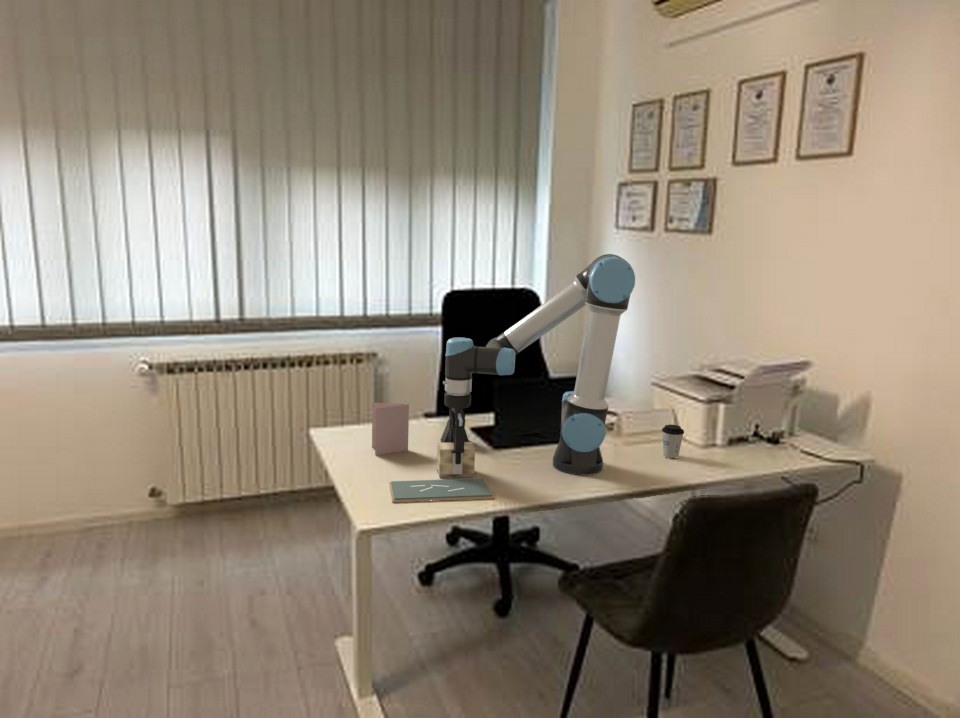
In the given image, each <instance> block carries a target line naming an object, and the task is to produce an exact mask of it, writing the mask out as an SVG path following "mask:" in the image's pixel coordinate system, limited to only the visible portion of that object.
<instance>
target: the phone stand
mask: <svg viewBox="0 0 960 718" xmlns="http://www.w3.org/2000/svg"><path fill="white" fill-rule="evenodd" d="M449 419H450V416H449V418H448V419H447V422H446V425H445V427H444V431H443V432H442V434H441V438H440V443H450V442H449V440H450V439H449V438H448V436H449ZM464 442H470V440H469V438H468V435H467V432H466V430H465V435H464Z"/></svg>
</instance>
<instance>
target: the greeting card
mask: <svg viewBox="0 0 960 718" xmlns="http://www.w3.org/2000/svg"><path fill="white" fill-rule="evenodd" d="M371 404H372V405H371V409H372V410H371V412H372V413H371V420H372V421H371V449H372V448H375V449H374V456H375V455H377V456H381V454H382V455H388V454H392V453H393V452H394V453H398V452H405V450H406V451H408V450H409V426H410V425H409V422H410V421H409V419H410V417H409V415H410V404H409V403H389V402H387V403H386V402H372V403H371ZM387 453H388V454H387Z"/></svg>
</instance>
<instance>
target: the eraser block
mask: <svg viewBox="0 0 960 718" xmlns="http://www.w3.org/2000/svg"><path fill="white" fill-rule="evenodd" d="M436 450H437V451H436V452H437V454H436V471H437V475H438V474H439V475H438V477H453V478H474V477H475V463H476V462H475V461H476V448H475V445H474V444H473V442H472V441H469V442H464V453H463V459H462V474H452V465H453V453H451V451H454V442H450V443H441V442H437V449H436Z"/></svg>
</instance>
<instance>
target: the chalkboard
mask: <svg viewBox="0 0 960 718" xmlns="http://www.w3.org/2000/svg"><path fill="white" fill-rule="evenodd" d="M388 484H389V485H390V486H389V485H388V486H389V491H390V498H391V497H392V498H391V502H392V504H395V503H396V502H400V503H415V502H414V501H427V502H434V501H433V500H454V501H468V500H467V499H480V500H494V499H495V496H494V493H493V492H492V490H491V487H490V486H489V484H488V482H487V480H486V478H483V477H482V478H481V477H480V478H455V479H451V478H450V479H449V478H447V479H423V480H421V479H420V480H419V479H417V480H394V481H393V480H391V481H389V482H388ZM430 500H432V501H430Z"/></svg>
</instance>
